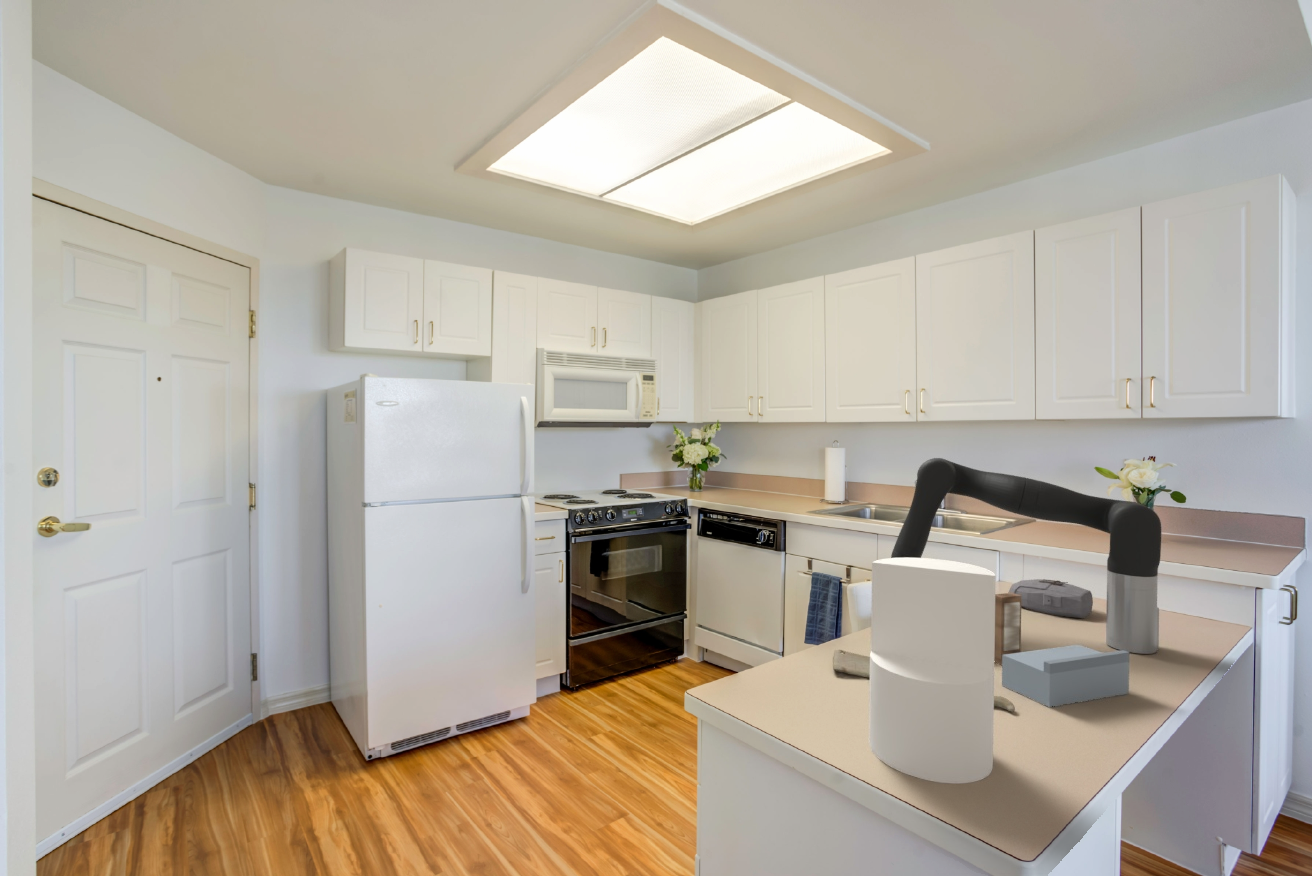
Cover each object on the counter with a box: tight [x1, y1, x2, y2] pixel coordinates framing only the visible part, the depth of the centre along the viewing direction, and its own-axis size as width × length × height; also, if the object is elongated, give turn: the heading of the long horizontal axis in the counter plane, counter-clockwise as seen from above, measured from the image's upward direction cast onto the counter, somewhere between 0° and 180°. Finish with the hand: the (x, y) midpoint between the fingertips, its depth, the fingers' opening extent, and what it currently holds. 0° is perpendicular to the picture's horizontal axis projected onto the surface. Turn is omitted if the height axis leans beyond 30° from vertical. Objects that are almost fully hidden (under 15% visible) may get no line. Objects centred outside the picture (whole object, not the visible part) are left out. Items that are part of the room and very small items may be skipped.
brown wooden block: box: [994, 593, 1022, 665], centre depth 134 cm, size 6×6×14 cm
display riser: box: [1001, 644, 1130, 708], centre depth 119 cm, size 20×10×8 cm, turn 109°
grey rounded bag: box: [1008, 578, 1094, 619], centre depth 175 cm, size 15×8×20 cm
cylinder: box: [868, 557, 996, 784], centre depth 95 cm, size 17×17×28 cm
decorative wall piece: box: [832, 649, 1016, 712], centre depth 126 cm, size 30×3×30 cm
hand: (995, 620), depth 137 cm, fingers open, 8 cm apart
